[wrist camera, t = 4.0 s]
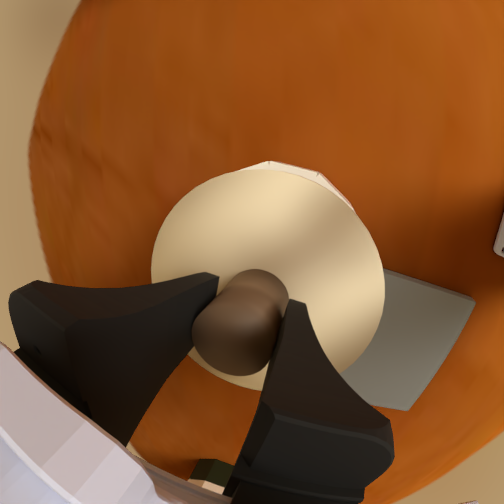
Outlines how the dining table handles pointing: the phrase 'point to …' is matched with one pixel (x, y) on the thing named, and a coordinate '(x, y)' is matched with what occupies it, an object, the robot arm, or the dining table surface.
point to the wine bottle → (211, 474)
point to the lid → (272, 269)
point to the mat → (408, 341)
